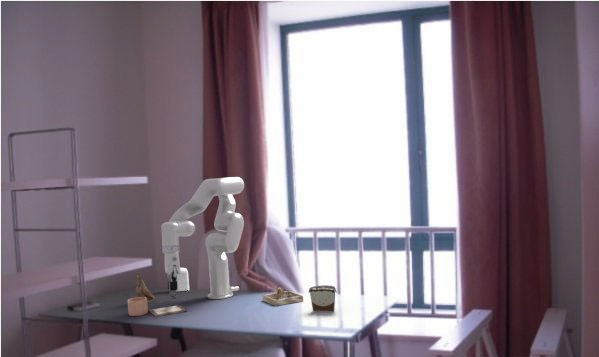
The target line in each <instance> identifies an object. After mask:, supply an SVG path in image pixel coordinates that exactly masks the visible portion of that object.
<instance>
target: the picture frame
mask: <svg viewBox="0 0 599 357" xmlns="http://www.w3.org/2000/svg"><path fill="white" fill-rule="evenodd" d="M148 312H149V313H150V314H151V315H152V316H153V317H155V318H157V317H162V316H168V315H169V316H170V315H175V314H180V313H186V312H187V310H186V309H185V308H184V307H183V306H181V305H180V304H177V305H176V304H175V305H171V306H163V307H159V308H152V309H148Z"/></svg>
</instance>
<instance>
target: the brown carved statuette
mask: <svg viewBox="0 0 599 357" xmlns="http://www.w3.org/2000/svg"><path fill="white" fill-rule="evenodd" d="M136 277H137V279H136V286H135V293H136V296H137V297H146V298H147V304H148V303H151V302H155V301H156V297H155V296H154V294H152V293H151V291H150V290H149V289H148V287H147V286H146V284H145V282H144V280H143V279H142V278H141V275H140V273H137V274H136Z"/></svg>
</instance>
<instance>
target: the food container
mask: <svg viewBox="0 0 599 357" xmlns="http://www.w3.org/2000/svg"><path fill="white" fill-rule="evenodd" d="M308 293H309V296H310V302H311V308H312V312H321V313H322V312H324V313H325V312H326V313H330V312H331V313H335V310H336V308H335V307H336V294H337V288H336V286H334V285H328V284H327V285H325V284H323V285H315V286H310V287H309V289H308Z"/></svg>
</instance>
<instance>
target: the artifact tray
mask: <svg viewBox="0 0 599 357" xmlns="http://www.w3.org/2000/svg"><path fill="white" fill-rule="evenodd" d="M275 296H276V292H274V293H269V294H263V295H262V301H263V302H265V303H268V304H270V305H272V306H274V307H277V306H282V305H290V304H294V303H299V302H304V295H302V294H299V293H297V292H293V291H291V290H286V291H285V290H284V295H283V296H284V298H283V299H279V300H276V299H275Z"/></svg>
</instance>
